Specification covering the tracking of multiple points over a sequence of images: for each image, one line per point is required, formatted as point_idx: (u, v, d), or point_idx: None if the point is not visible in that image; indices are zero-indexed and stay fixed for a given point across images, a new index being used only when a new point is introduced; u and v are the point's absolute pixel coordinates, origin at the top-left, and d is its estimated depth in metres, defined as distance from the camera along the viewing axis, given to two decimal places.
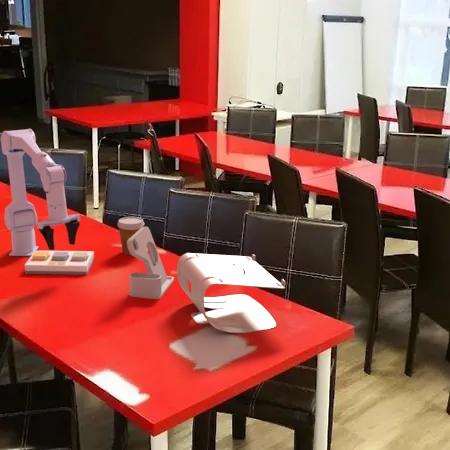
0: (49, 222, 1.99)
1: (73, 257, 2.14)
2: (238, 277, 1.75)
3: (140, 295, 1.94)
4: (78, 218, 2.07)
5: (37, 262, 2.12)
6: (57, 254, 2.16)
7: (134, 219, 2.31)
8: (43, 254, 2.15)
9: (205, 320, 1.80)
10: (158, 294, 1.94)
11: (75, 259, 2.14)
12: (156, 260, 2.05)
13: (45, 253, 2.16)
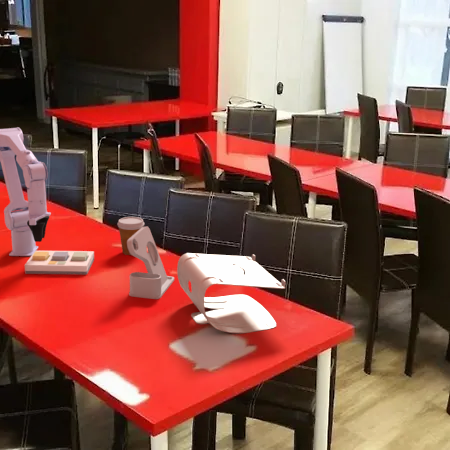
0: (39, 217, 2.08)
1: (73, 257, 2.14)
2: (238, 277, 1.75)
3: (140, 295, 1.94)
4: None
5: (37, 262, 2.12)
6: (57, 254, 2.16)
7: (134, 219, 2.31)
8: (43, 254, 2.15)
9: (205, 320, 1.80)
10: (157, 294, 1.94)
11: (75, 259, 2.14)
12: (156, 260, 2.05)
13: (45, 253, 2.16)
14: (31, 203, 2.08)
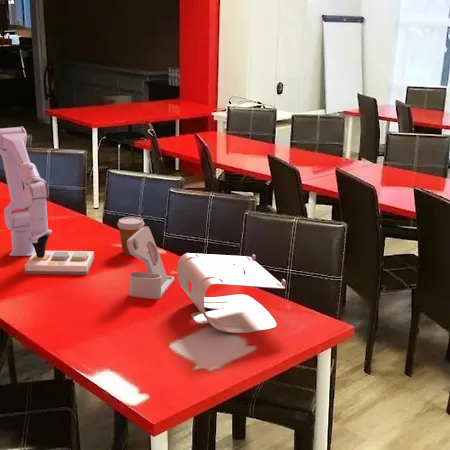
0: (40, 235, 2.09)
1: (73, 257, 2.14)
2: (238, 277, 1.75)
3: (140, 295, 1.95)
4: None
5: (37, 262, 2.12)
6: (57, 254, 2.16)
7: (134, 219, 2.31)
8: (43, 257, 2.15)
9: (205, 320, 1.80)
10: (157, 294, 1.94)
11: (75, 259, 2.14)
12: (156, 260, 2.05)
13: (45, 256, 2.17)
14: (32, 221, 2.10)
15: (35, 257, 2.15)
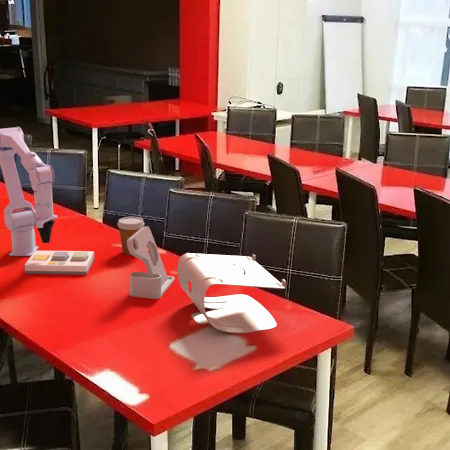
0: (46, 220, 2.08)
1: (73, 257, 2.14)
2: (239, 277, 1.75)
3: (140, 295, 1.95)
4: None
5: (37, 262, 2.12)
6: (57, 254, 2.16)
7: (134, 219, 2.31)
8: (43, 258, 2.16)
9: (205, 320, 1.80)
10: (157, 294, 1.94)
11: (75, 259, 2.14)
12: (156, 260, 2.05)
13: (45, 256, 2.17)
14: (38, 206, 2.08)
15: (35, 258, 2.15)
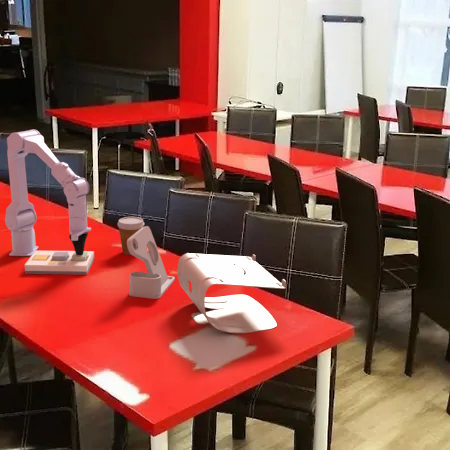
0: (81, 233, 2.10)
1: (73, 257, 2.14)
2: (239, 277, 1.75)
3: (140, 295, 1.95)
4: None
5: (37, 262, 2.12)
6: (57, 254, 2.16)
7: (134, 219, 2.31)
8: (43, 258, 2.16)
9: (205, 320, 1.80)
10: (157, 294, 1.94)
11: (75, 259, 2.14)
12: (157, 260, 2.05)
13: (45, 256, 2.17)
14: (72, 219, 2.10)
15: (35, 258, 2.15)
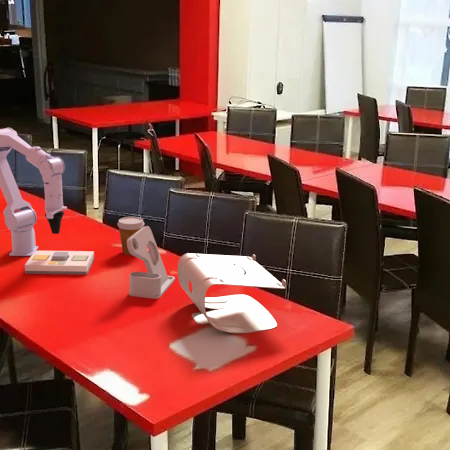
0: (56, 211, 2.11)
1: None
2: (239, 277, 1.74)
3: (139, 294, 1.95)
4: None
5: (37, 262, 2.12)
6: (57, 254, 2.16)
7: (134, 219, 2.31)
8: (43, 258, 2.16)
9: (206, 320, 1.80)
10: (157, 294, 1.94)
11: None
12: (157, 260, 2.05)
13: (45, 256, 2.17)
14: (48, 197, 2.12)
15: (35, 258, 2.15)
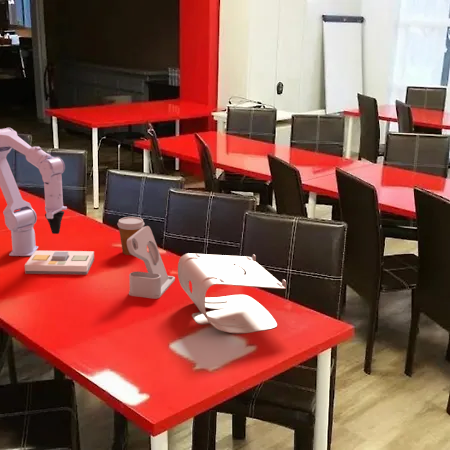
0: (56, 211, 2.11)
1: None
2: (239, 277, 1.75)
3: (139, 294, 1.95)
4: None
5: (37, 262, 2.12)
6: (57, 254, 2.16)
7: (134, 219, 2.31)
8: (43, 258, 2.16)
9: (206, 320, 1.80)
10: (157, 294, 1.94)
11: None
12: (157, 260, 2.06)
13: (45, 256, 2.17)
14: (48, 197, 2.12)
15: (35, 258, 2.15)
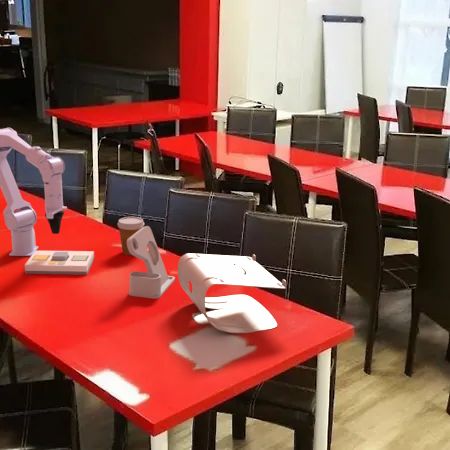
0: (56, 211, 2.11)
1: None
2: (239, 277, 1.75)
3: (139, 294, 1.95)
4: None
5: (37, 262, 2.12)
6: (57, 254, 2.16)
7: (134, 219, 2.31)
8: (43, 258, 2.16)
9: (206, 320, 1.80)
10: (157, 294, 1.94)
11: None
12: (157, 260, 2.06)
13: (45, 256, 2.17)
14: (48, 197, 2.12)
15: (35, 258, 2.15)
